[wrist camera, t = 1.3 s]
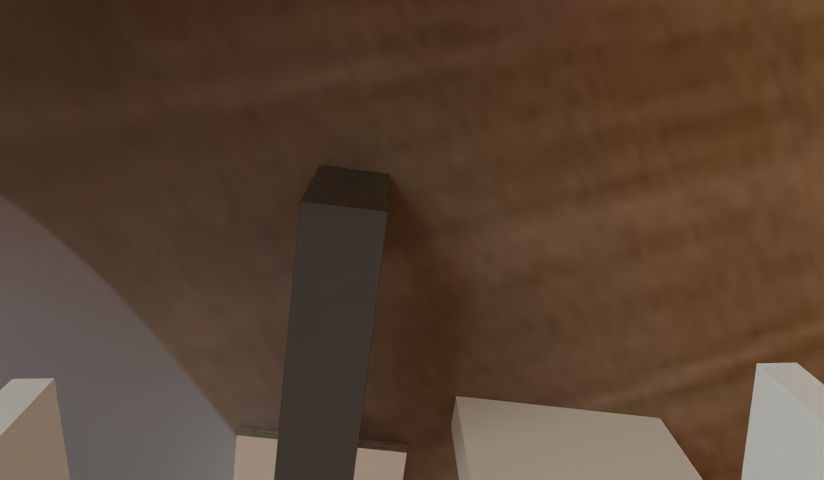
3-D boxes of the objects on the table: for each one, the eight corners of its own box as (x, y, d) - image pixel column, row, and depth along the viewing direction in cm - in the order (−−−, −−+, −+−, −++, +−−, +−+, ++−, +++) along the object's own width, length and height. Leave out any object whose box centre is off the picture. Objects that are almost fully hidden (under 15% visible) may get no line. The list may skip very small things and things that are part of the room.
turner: (261, 157, 32) (226, 191, 25) (445, 181, 32) (459, 220, 26) (230, 550, 37) (194, 665, 30) (388, 565, 38) (387, 681, 31)
